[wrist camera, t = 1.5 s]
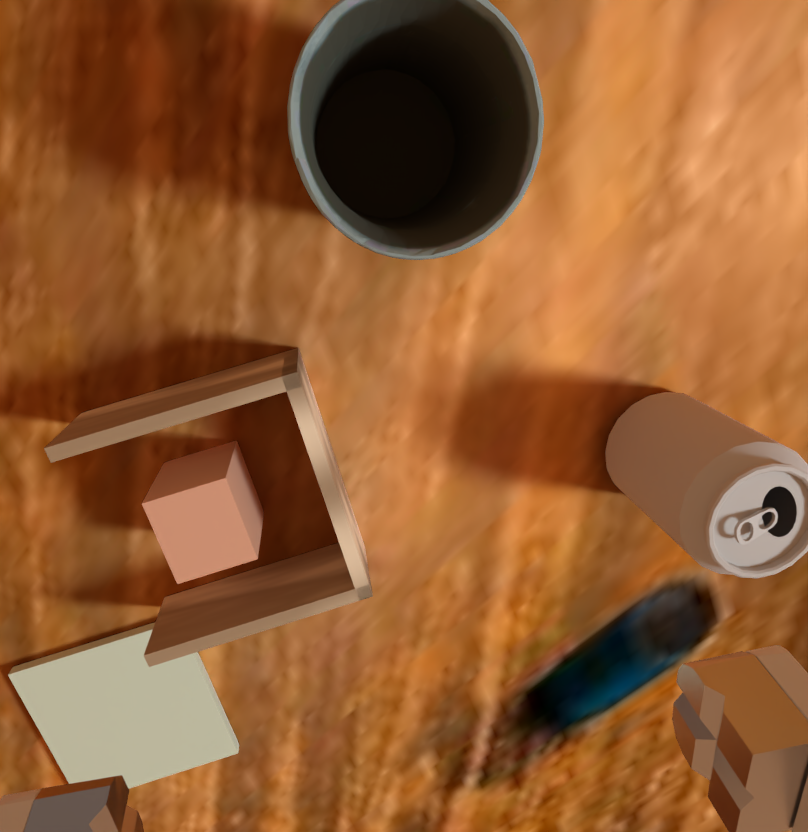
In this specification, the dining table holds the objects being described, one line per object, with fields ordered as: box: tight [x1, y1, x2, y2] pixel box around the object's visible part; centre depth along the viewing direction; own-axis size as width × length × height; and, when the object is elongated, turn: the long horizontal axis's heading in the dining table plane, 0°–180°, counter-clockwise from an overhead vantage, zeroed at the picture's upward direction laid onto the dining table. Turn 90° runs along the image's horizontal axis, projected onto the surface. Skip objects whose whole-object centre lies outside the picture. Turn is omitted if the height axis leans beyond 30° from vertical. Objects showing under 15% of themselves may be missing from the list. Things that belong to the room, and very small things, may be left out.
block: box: [142, 440, 264, 584], centre depth 40 cm, size 5×4×6 cm
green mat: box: [8, 622, 239, 789], centre depth 46 cm, size 11×11×1 cm
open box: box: [44, 348, 373, 667], centre depth 40 cm, size 14×13×6 cm
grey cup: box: [287, 0, 544, 260], centre depth 33 cm, size 10×10×12 cm
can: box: [605, 392, 808, 578], centre depth 40 cm, size 8×8×12 cm
